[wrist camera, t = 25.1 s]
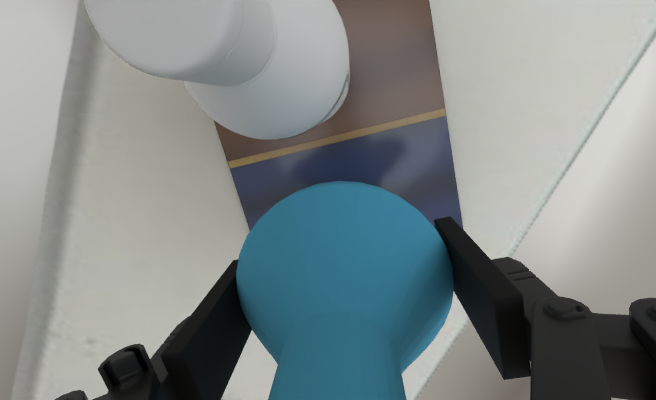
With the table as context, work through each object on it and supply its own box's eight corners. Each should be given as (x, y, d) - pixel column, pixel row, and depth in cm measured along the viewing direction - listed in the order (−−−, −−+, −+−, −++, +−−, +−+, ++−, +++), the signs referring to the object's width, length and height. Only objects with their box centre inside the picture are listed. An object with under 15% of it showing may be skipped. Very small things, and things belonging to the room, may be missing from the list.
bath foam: (253, 36, 24) (-107, -222, 5) (344, 23, 24) (319, -328, 5) (268, 130, 26) (44, 194, 7) (353, 120, 26) (362, 160, 6)
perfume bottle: (246, 286, 19) (-51, 793, 5) (291, 139, 17) (-55, 321, 2) (390, 335, 20) (498, 950, 5) (456, 197, 17) (1009, 667, 3)
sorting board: (188, 39, 25) (186, 38, 25) (423, -32, 23) (424, -34, 22) (263, 268, 30) (262, 270, 30) (462, 229, 28) (463, 230, 27)
